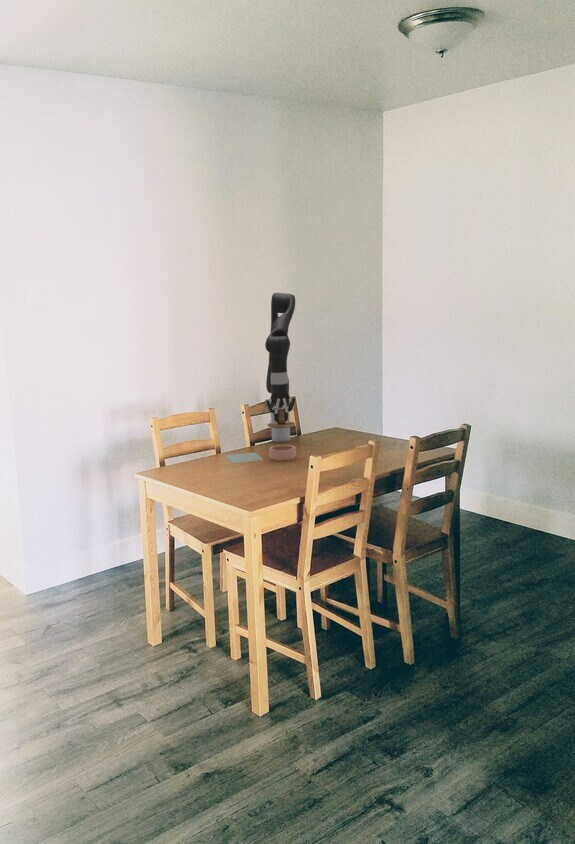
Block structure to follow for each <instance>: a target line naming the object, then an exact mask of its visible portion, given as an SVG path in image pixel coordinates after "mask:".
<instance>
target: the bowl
mask: <svg viewBox="0 0 575 844" xmlns="http://www.w3.org/2000/svg"><path fill="white" fill-rule="evenodd" d="M296 449H297V448H296V446H295V445H291V444H279V445H278V444H277V445H273V446H270V447H269V449H268V451H269V458H270V459H271V461H277V462H278V461H291V460H293V459H295V458H296V456H297V455H296V454H297V453H296V451H297V450H296Z"/></svg>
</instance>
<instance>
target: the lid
mask: <svg viewBox="0 0 575 844" xmlns="http://www.w3.org/2000/svg"><path fill="white" fill-rule="evenodd" d="M277 414H278V422H272V423H271V422H268V423H267V428H289V427H290V428H292V427H295V426H296V422H293V421H290V422H288V421H285V409H278V412H277Z"/></svg>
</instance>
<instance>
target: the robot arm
mask: <svg viewBox="0 0 575 844" xmlns="http://www.w3.org/2000/svg"><path fill="white" fill-rule="evenodd" d="M295 296H296V295H294V294H292V293H284V292H273V293H272V296H271V301H270V307H271V308H270V331H269V333H270V334H269V335H268V336H267V338H266V339H265V340H266V341H265V345H264V346H265V350H266V351H267V352H268V365H267V372H266V373H267V374H266V382H265V386H266V391H267V392H268V394H271V395H270V397H269V398H268V399H265V400H264V402H265V405H266V406H267V409H268V411H269V412H270V423H272V422H278V414H277V412H278V409H285V421H288V422H291V421H290V420H291V419H290V412H292V410H293V409H294V406H295V405H294V404H295V402H296V397H294V396H293V397H292V396H290V380H289V376H288V366H287V363H288V356H289V351H290V348H291V340H290V339H289V336H288V333H289V328H290V327H289V326H290V323H291V320H292V318H293V316H294V312H295V309H296V297H295ZM279 314H281V315H279ZM290 440H291V427H289V428H271V442H275V443H285V442H289V441H290Z"/></svg>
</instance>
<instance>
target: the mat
mask: <svg viewBox="0 0 575 844" xmlns="http://www.w3.org/2000/svg"><path fill="white" fill-rule="evenodd" d="M225 457H226V458H227V459H228V460H229V461H230V463H232V464H239V463H251V462H257V461H264V459H263V458H262V456H260V455H259V454H257V452H250V453H249V452H248V453H239V454H238V453H237V454H227V455H225Z"/></svg>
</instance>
